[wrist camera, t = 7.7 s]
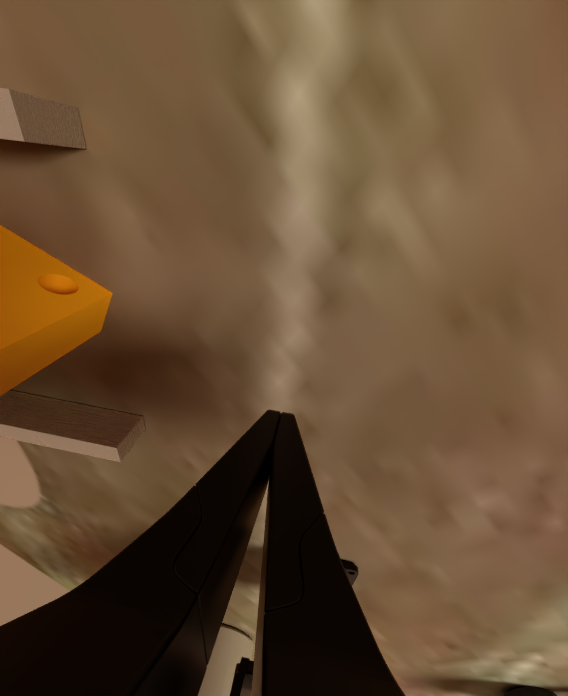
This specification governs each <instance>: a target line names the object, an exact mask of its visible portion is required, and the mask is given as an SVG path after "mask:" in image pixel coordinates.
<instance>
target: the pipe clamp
mask: <svg viewBox="0 0 568 696" xmlns="http://www.w3.org/2000/svg"><path fill="white" fill-rule="evenodd" d="M112 294H113V293H112V292H110V291H109V290H107V289H105V288H104V287H102V286H100V285H99V284H97V283H95V282H94V281H92V280H90V279H89V278H87V277H86V276H84V275H82V274H81V273H79V272H77V271H76V270H74V269H72V268H71V267H69V266H67V265H66V264H64V263H62V262H61V261H59V260H58V259H56V258H54V257H53V256H51V255H49V254H48V253H46V252H44V251H43V250H41V249H39V248H38V247H36V246H34V245H33V244H31V243H30V242H28V241H26V240H25V239H23V238H21V237H20V236H18V235H16V234H15V233H13V232H11V231H10V230H8V229H6V228H5V227H3V226H1V225H0V396H1V395H3V394H4V393H6V392H7V391H9V390H11V389H12V388H14V387H15V386H17V385H18V384H20V383H21V382H23V381H25V380H26V379H28V378H29V377H31V376H32V375H34V374H35V373H37V372H39V371H40V370H42V369H43V368H45V367H46V366H48V365H49V364H51V363H53V362H54V361H56V360H57V359H59V358H60V357H62V356H63V355H65V354H67V353H68V352H70V351H71V350H73V349H74V348H76V347H77V346H79V345H80V344H82V343H84V342H85V341H87V340H88V339H90V338H91V337H93V336H94V335H96V334H98V333H99V332H101V330H102V327H103V323H104V320H105V317H106V313H107V310H108V307H109V304H110V300H111V297H112Z"/></svg>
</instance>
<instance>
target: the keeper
mask: <svg viewBox="0 0 568 696" xmlns="http://www.w3.org/2000/svg"><path fill="white" fill-rule="evenodd" d="M0 139H6V140H14V141H23V142H31V143H39V144H48V145H56V146H65V147H73V148H82V149H86V146H85V142H84V137H83V132H82V127H81V123H80V118H79V113H78V109H77V108H75V107H72V106H68V105H65V104H61V103H57V102H54V101H50V100H47V99H43V98H39V97H36V96H32V95H28V94H25V93H21V92H18V91H14V90H10V89H4V88H0ZM145 430H146V429H145V425H144V420H143V416H139V415H134V414H129V413H124V412H119V411H114V410H109V409H104V408H98V407H93V406H88V405H83V404H78V403H73V402H68V401H63V400H58V399H53V398H48V397H43V396H38V395H32V394H27V393H22V392H17V391H12V390H9V391H7V392H6V393H4V394H3V395H1V396H0V437H4V438H9V439H14V440H18V441H23V442H28V443H33V444H37V445H42V446H47V447H52V448H56V449H61V450H66V451H70V452H75V453H80V454H85V455H89V456H94V457H99V458H103V459H108V460H113V461H118V462H121V461H122V460H123V459H124V457H125V456H126V455H127V453H128V452H129V451H130V449H131V448H132V447H133V445H134V444H135V443H136V442H137V440H138V439H139V438H140V436H141V435H142V434H143V432H144V431H145Z"/></svg>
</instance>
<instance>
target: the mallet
mask: <svg viewBox="0 0 568 696" xmlns="http://www.w3.org/2000/svg"><path fill="white" fill-rule="evenodd" d="M504 696H557V695H556V694H555V693H553V692H551V691H549V690H546V689H542V688H538V687H522V688H517V689H514V690H511V691H509V692H507V693H506V694H505V695H504Z"/></svg>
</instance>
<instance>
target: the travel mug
mask: <svg viewBox="0 0 568 696" xmlns="http://www.w3.org/2000/svg"><path fill="white" fill-rule="evenodd" d="M253 648H254V644H253V642H252V641H251V639H250V638H249V637H248V636H247V635H246V634H245V633H243V632H242V631H240V630H238V629H236V628H233V627H230V626H227V625H223V624H221V627H220V630H219V633H218V636H217V639H216V642H215V645H214V648H213V651H212V654H211V657H210V660H209V663H208V665H207V669H206V673H205V676H204V679H203V682H202V685H201V688H200V691H199V694H198V696H230V692H231V688H232V683H233V678H234V673H235V668H236V664H237V663H240V661H241V658H242V657H245V658H250V661H251V659H252V653H253Z"/></svg>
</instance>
